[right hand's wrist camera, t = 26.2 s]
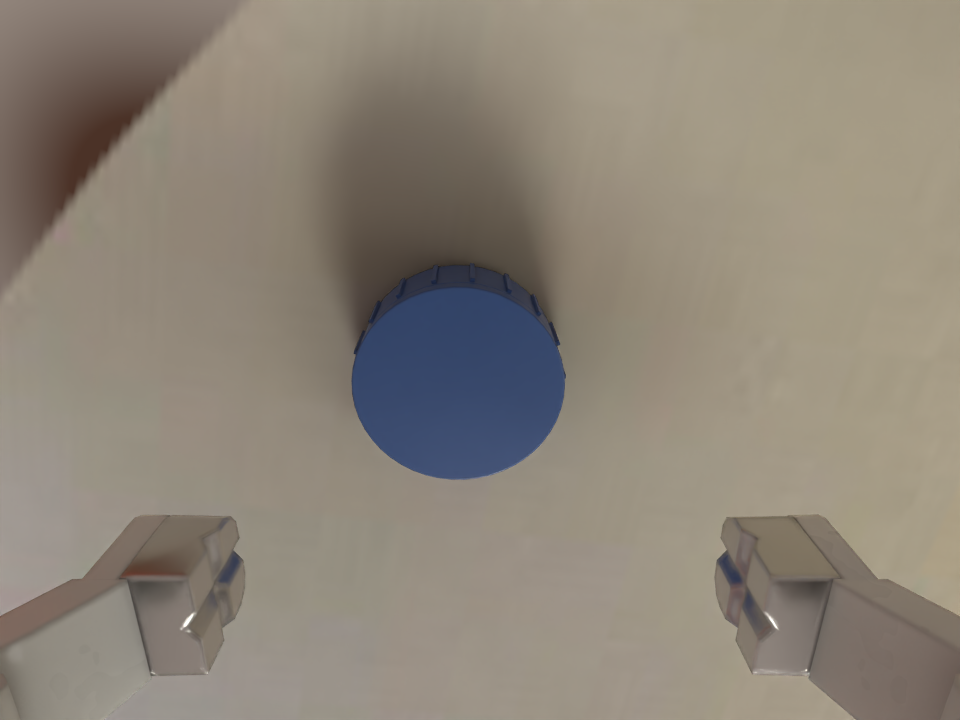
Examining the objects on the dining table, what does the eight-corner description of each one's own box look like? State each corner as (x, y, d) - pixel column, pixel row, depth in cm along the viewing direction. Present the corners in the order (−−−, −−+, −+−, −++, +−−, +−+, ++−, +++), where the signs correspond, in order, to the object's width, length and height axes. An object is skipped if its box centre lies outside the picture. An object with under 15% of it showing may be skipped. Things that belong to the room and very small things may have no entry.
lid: (330, 396, 17) (315, 432, 15) (413, 225, 15) (407, 242, 13) (497, 470, 18) (501, 512, 16) (593, 317, 16) (609, 345, 14)
